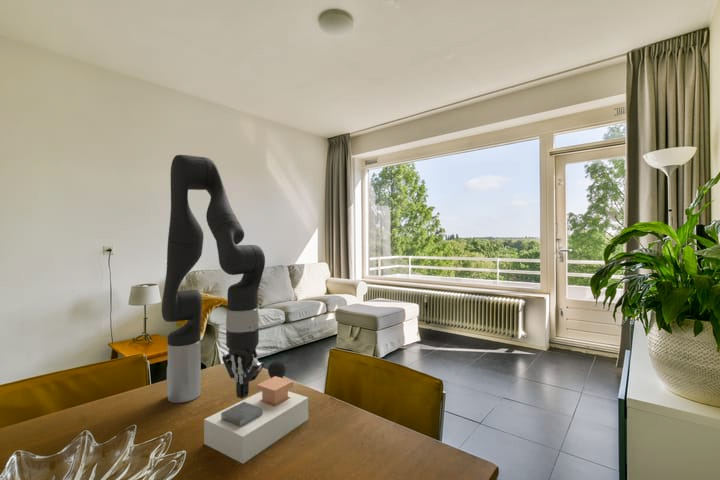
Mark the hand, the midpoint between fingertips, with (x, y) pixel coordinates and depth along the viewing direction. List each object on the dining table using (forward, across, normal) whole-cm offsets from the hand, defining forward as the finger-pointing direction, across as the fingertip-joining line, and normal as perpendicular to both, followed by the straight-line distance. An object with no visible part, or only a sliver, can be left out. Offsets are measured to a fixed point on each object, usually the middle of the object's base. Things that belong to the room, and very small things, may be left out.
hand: (242, 396), depth 85 cm
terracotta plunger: (+7, 0, +11) cm, 13 cm away
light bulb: (+11, -13, +24) cm, 30 cm away
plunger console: (+11, 0, +5) cm, 12 cm away
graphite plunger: (+10, 0, 0) cm, 10 cm away
